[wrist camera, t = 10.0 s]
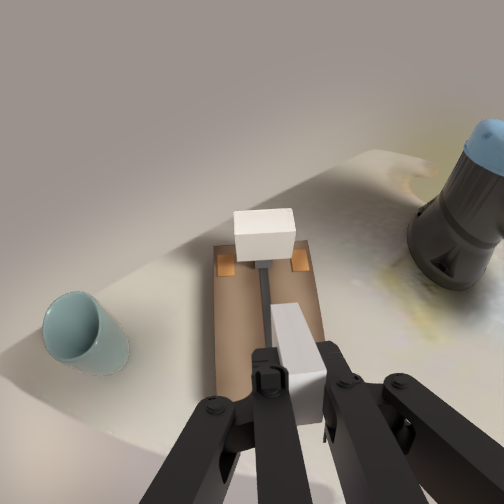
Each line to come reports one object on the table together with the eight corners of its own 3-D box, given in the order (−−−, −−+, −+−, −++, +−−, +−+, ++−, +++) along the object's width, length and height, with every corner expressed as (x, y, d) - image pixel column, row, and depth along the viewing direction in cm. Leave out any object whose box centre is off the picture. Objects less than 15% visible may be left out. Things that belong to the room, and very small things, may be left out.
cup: (80, 333, 35) (39, 302, 27) (129, 316, 37) (96, 280, 28) (91, 388, 31) (45, 370, 23) (144, 372, 33) (108, 350, 24)
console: (304, 252, 42) (307, 239, 39) (326, 401, 31) (333, 398, 28) (216, 258, 41) (213, 245, 39) (220, 410, 30) (216, 409, 28)
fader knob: (286, 249, 38) (291, 208, 31) (289, 270, 36) (296, 231, 30) (237, 252, 38) (233, 211, 31) (238, 273, 36) (234, 234, 30)
